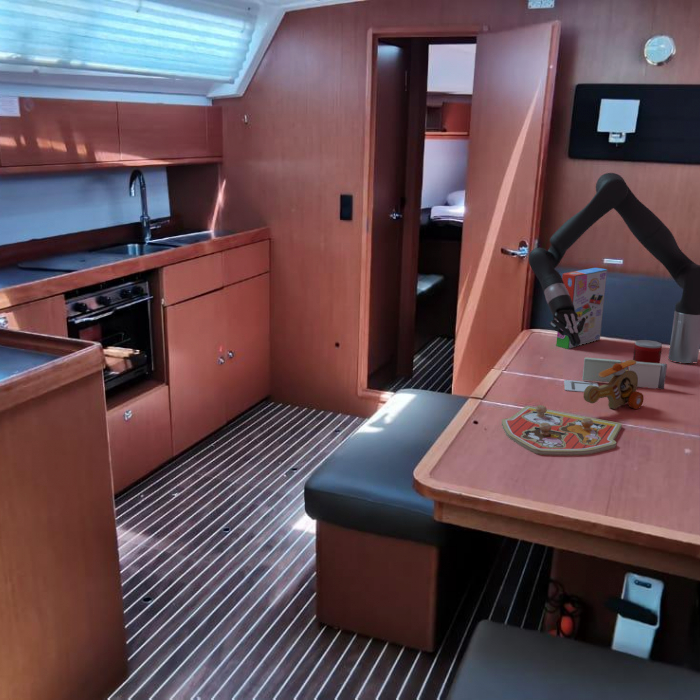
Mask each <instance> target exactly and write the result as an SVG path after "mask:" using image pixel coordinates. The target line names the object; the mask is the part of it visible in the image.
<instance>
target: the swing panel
mask: <svg viewBox="0 0 700 700" xmlns="http://www.w3.org/2000/svg"><path fill="white" fill-rule="evenodd" d="M616 363H619V364H620V363H622V360H620V359H610V358H597V357H586V356H585V357H584V360H583V371H582V381H585V382H597V383H599V382H600V383H609V382H610V380H611V379H612V377H613V376H614V375H613V374H611V375H609V376H606V377H599V375H598V374H599V373H600V372H602V371H604V370H607V369H609V368H612V367H613V365H614V364H616Z"/></svg>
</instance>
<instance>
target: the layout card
mask: <svg viewBox="0 0 700 700" xmlns="http://www.w3.org/2000/svg"><path fill="white" fill-rule="evenodd" d="M563 382H564V386H563V387H564V391H565V392H567V391H568V392H577V393H584V391H585V389H586V388H587V387H588V386H590V385H593V386H597V387H598V386H599V384H598V383H599V382H596V381H584V380H570V379H564V380H563Z"/></svg>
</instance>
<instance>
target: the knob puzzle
mask: <svg viewBox="0 0 700 700" xmlns="http://www.w3.org/2000/svg"><path fill="white" fill-rule="evenodd" d="M502 426H503V427H502ZM622 426H623V424H622V422H621V423H620V422H616V421H610V420H606V419H600V418H595V417H590V416H584V415H578V414H574V413H568V412H562V411H557V410H553V409H547V407H546V406H545V405H543V404H541V405H537V406H531V405H526V406H524V407H523V408H521V409H520V410H518V412H517V413H515V414H513V415H512V416H511V417H509V418H503V419H501V427H502V429H504V430H503V432H504V431H505V432H504V433H506V434H505V435H506V437H507V436H508V437H509V438H510V439H509V438H508V437H507V438H508V439H509V440H511V441H512V440H513V441H512V442H514V443H515V442H516V443H515V444H517V445H519V446H521V447H522V448H523V449H526V450H527V451H529V452H531V453H533V454H536V455H541V456H566V457H568V456H586V455H587V456H589V455H594V454H597V453H601V452H605V451H609V450H613V449H615V448H616V447H617V441H616V438H617V437H618V435H619V433H620V431H621V430H622V428H623V427H622Z"/></svg>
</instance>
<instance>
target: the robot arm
mask: <svg viewBox="0 0 700 700" xmlns="http://www.w3.org/2000/svg"><path fill="white" fill-rule="evenodd" d="M595 192H596V193H595V195H594V196H593V197H592V199H591V200H589V203H588V204H587V205H586V206H584V207H583V208H582V209H581V210H580V211H578V212H577V213H575V214H574V215H573V216H571V217H570V218H569V219H567V220H566V221H565V222H564V223H563V224H562V225H560V227H559V228H558V229H557V230H556V231H555V232H554V233H553V234H552V235H551V237H550V238H549V243H550V246H549V248H548V250H547V249H546V248H544V247H535V248H533V249H532V250H531V251H530V252H529V255H528V265H529V266H530V268H531V270H532V272H533V273H534V275H535V276H536V277H537V280H538V281H539V283H540V286H541V288H542V292H543V294H544V297H545V301H546V303H547V305H548V308H549V311H550V313H551V316H553V319H552V321H550V323H549V326H550V327H551V328H553V330H555V331H556V332H559V333H560V334H561V335H563V336H564V335H566V336H567V337H568V338H569V340H570V343H571V344H572V345H573V346H577V347H579V346H578V345H579V344H580V342H581V341H580V338H579V336H578V334H579V333H580V332H581V331H582V329H583V326H584V323H585V320H586V319H585V318H580V317H578V315H577V313H576V312H575V310H574V305H573V302H572V300H571V297H570V295H569V292H568V290H567V288H566V287H565V285H564V282H563V280H562V276H561V274H560V272H558V271H557V269H556V268H557V266H558V265H560V262H561V261H562V259H563V257H564V256H565V255H566V252H567V251H568V250H569V249H570V248H571V247H572V246H573V245H574V244H575V243H576V242H577V241H578V240H579V239H580V238H581V236H583V234H585V233H586V232H587V230H589V229H590V228H591V227H592V226H593V225H595V223H596V222H598V221H599V220H600V219H601V218H603V217H604V216H605V215H606V214H608V213H609V212H610V211H612V210H613V209H614V210H615V211H616V212H617V214H618V215H619V216H620V217H621V219H622V220H623V221H624V223H625V225H626V227H627V228H628V229H629V230H630V232H631V233H632V234H633V236H634V237H635V239H636V240H638V242H639V243H640V244H641V245H642V247H643V248H645V250H646V251H648V252H649V253H650V254H651V255H652V256H653V257H654V258H655V259H656V260H657V261H659V263H661V265H662V266H663V267H665V270H667V271H668V273H669V274H670V276H671V277H672V279H673V281H675V283H676V285H678V287H679V288H680V289H682V294H681V299H680V300H679V301H677V302H676V303H675V305H674V306H675V307H674V313H673V314H674V315H673V321H672V330H671V337H670V344H669V350H668V351H669V352H668V358H669V359H670V360H672V361H676V362H681V363H693V362H697V363H698V361H699V360H698V359H699V352H700V264H697V263H695V262H694V261H693V260H691V258H689V257H688V256H687V255H686V254H685V252H683V251H682V249H681V248H680V246H679V245H678V243H677V240H676V238H675V236H674V234H673V233H672V232H671V230H670V229H669V228H668V227H667V226H666V225H665V223H664V222H663V221H662V220H661V219H660V218H659V217H658V216H657V215H656V214H655V213H654V212H653V211H652V210H651V209H650V208H648V207H647V206H646V205H645V204H644V203H643V202H641V200H639V199H638V198H637V196H636V195H635V194H634V193H633V191H632V189H630V187H629V186H628V184H627V183H626V180H625V178H624V177H622V175H620V174H618V173H616V172H615V173H614V172H607V173H604V174H602V175H600V176H599V178H598V179H597V180H596V183H595ZM576 321H577V324H578V325H577V324H576ZM561 329H562V330H563V331H562V330H561ZM668 358H667V359H668ZM669 359H668V360H669ZM670 360H669V361H670ZM672 361H671V362H672ZM681 363H680V364H681Z"/></svg>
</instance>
